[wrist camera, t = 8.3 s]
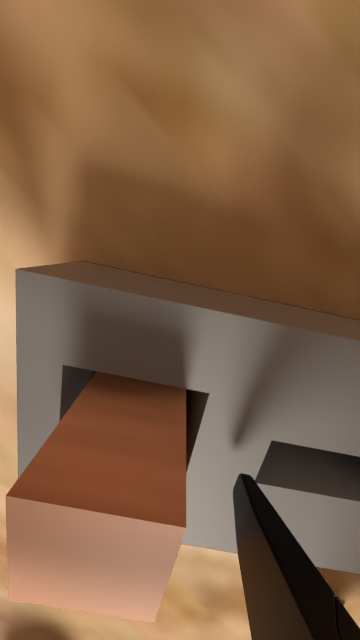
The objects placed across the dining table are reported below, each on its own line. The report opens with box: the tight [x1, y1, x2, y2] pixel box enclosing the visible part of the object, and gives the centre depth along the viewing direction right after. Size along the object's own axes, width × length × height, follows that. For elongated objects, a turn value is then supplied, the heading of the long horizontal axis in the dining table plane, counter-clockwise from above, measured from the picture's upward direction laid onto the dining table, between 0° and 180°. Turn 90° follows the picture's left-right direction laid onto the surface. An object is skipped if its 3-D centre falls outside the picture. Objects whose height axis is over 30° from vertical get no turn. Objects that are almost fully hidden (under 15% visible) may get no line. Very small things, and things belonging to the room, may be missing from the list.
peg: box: [6, 371, 186, 623], centre depth 10 cm, size 4×4×9 cm
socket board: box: [16, 261, 360, 574], centre depth 12 cm, size 12×18×5 cm, turn 78°
